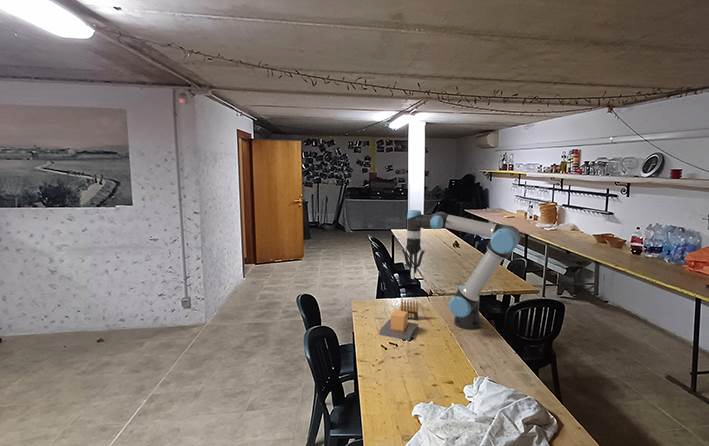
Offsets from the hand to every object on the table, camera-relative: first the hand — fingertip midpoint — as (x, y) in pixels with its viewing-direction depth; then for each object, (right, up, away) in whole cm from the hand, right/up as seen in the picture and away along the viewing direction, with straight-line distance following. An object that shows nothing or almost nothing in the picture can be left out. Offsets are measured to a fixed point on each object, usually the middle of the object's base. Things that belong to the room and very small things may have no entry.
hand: (412, 278), depth 225 cm
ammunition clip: (-1, -26, +9) cm, 27 cm away
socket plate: (-9, -28, -8) cm, 31 cm away
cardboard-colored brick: (-9, -28, -8) cm, 30 cm away
